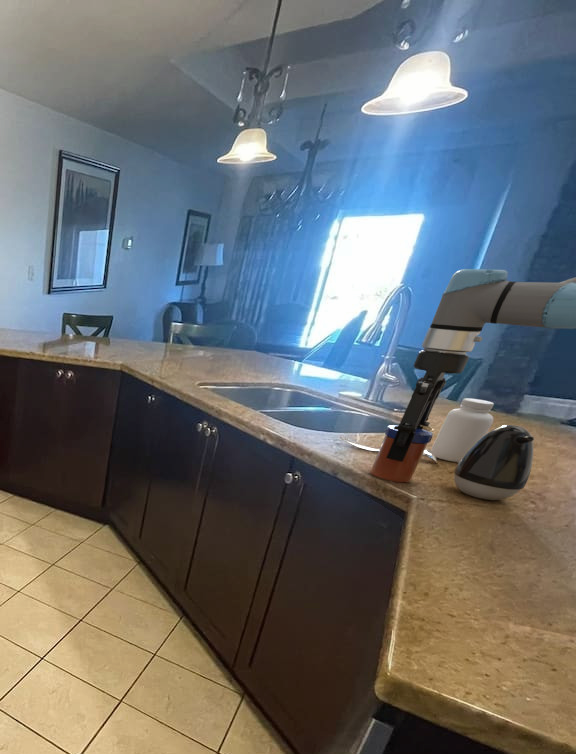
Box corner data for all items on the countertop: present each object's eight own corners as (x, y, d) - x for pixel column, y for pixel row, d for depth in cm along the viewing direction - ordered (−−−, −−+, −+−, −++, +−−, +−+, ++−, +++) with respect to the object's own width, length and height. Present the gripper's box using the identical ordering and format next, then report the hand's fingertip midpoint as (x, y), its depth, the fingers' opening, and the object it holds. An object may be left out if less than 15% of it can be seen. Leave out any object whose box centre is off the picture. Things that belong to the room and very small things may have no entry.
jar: (413, 478, 110) (433, 433, 106) (406, 485, 106) (427, 439, 102) (374, 468, 115) (392, 425, 111) (366, 474, 111) (384, 430, 107)
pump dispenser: (462, 500, 100) (499, 428, 93) (436, 481, 108) (468, 415, 102) (528, 510, 96) (571, 436, 90) (495, 490, 105) (532, 422, 99)
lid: (433, 439, 106) (436, 431, 106) (426, 445, 102) (430, 437, 101) (389, 430, 112) (392, 423, 111) (381, 436, 108) (384, 428, 107)
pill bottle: (476, 466, 119) (507, 406, 113) (432, 459, 123) (460, 400, 117) (466, 457, 125) (495, 400, 119) (425, 450, 129) (451, 395, 123)
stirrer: (342, 431, 129) (344, 427, 132) (336, 443, 131) (338, 440, 134) (443, 455, 118) (442, 450, 121) (436, 468, 119) (435, 463, 122)
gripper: (462, 357, 91) (410, 470, 100) (477, 350, 103) (430, 452, 112) (409, 351, 96) (365, 459, 106) (430, 346, 108) (388, 443, 117)
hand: (398, 455), depth 109 cm, fingers closed on lid, 7 cm apart
